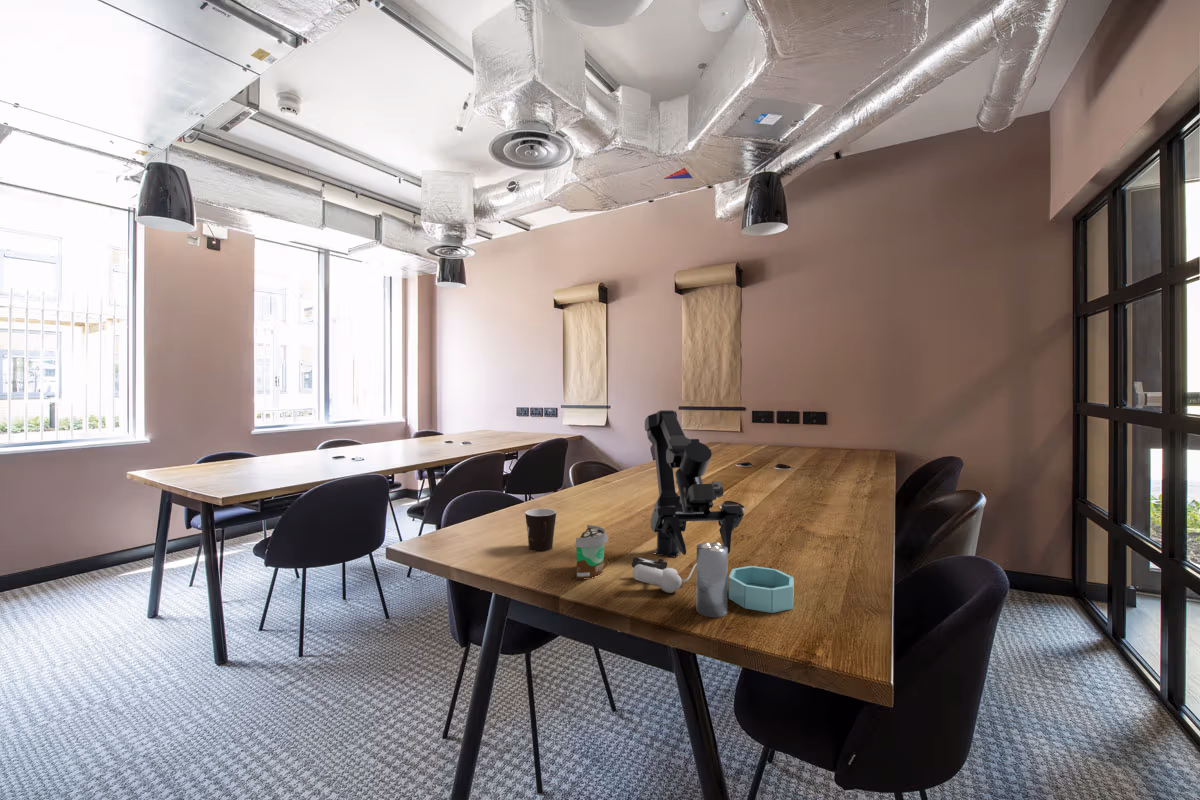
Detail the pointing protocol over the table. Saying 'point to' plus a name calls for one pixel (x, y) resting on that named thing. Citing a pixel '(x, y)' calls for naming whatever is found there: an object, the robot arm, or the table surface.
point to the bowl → (761, 589)
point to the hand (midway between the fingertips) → (706, 553)
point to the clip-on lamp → (657, 574)
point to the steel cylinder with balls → (711, 579)
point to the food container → (590, 552)
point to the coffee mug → (540, 529)
